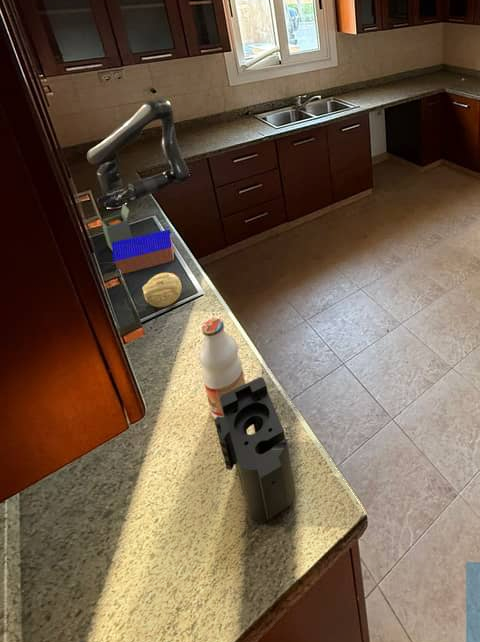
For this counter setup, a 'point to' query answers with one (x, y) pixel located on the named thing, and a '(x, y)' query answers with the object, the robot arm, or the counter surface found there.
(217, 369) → the fruit juice
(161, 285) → the tan round lump
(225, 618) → the counter surface
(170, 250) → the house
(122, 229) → the chute
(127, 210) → the flap
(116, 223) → the packet
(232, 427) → the black machined bracket
